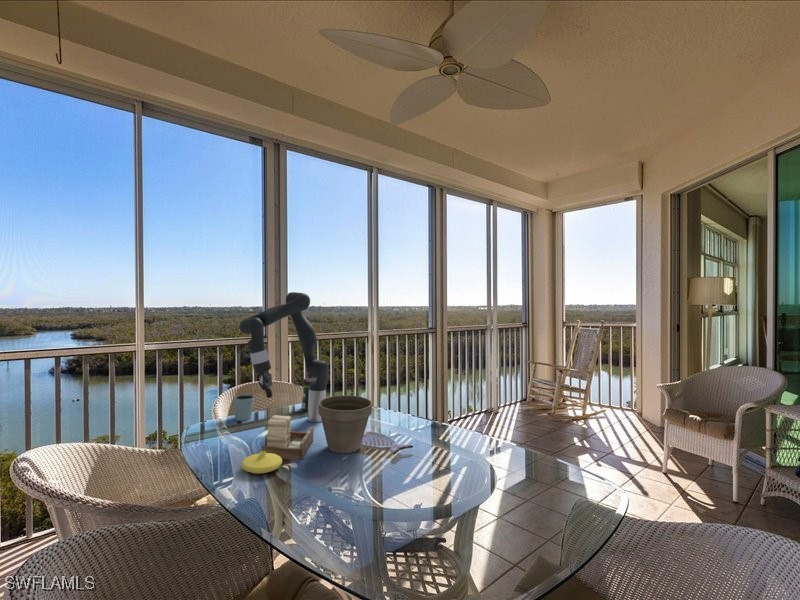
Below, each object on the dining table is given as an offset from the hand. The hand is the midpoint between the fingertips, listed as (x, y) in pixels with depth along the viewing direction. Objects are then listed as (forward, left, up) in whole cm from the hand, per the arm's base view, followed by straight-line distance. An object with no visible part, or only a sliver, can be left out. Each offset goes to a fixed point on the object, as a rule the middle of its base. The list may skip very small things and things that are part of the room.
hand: (269, 397), depth 189 cm
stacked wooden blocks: (+1, +5, -22) cm, 22 cm away
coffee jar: (-61, +6, -23) cm, 65 cm away
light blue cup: (-37, -25, -23) cm, 50 cm away
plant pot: (-3, +34, -23) cm, 42 cm away
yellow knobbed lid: (+22, +5, -23) cm, 33 cm away
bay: (+1, +10, -23) cm, 25 cm away
